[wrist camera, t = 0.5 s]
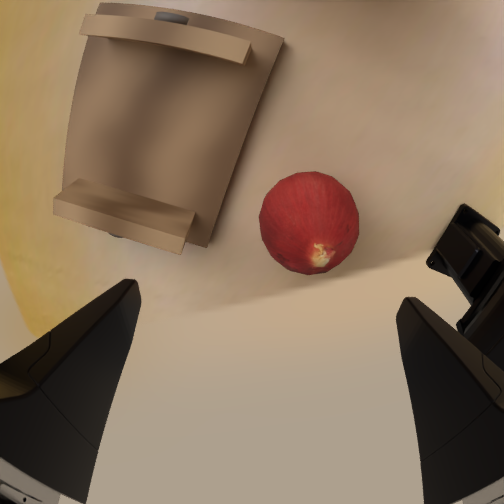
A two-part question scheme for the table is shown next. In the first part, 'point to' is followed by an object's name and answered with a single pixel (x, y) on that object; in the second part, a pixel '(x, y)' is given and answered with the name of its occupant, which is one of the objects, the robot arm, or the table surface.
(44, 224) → the table surface
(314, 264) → the onion
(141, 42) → the cup
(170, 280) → the table surface
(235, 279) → the table surface
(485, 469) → the robot arm
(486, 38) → the table surface
